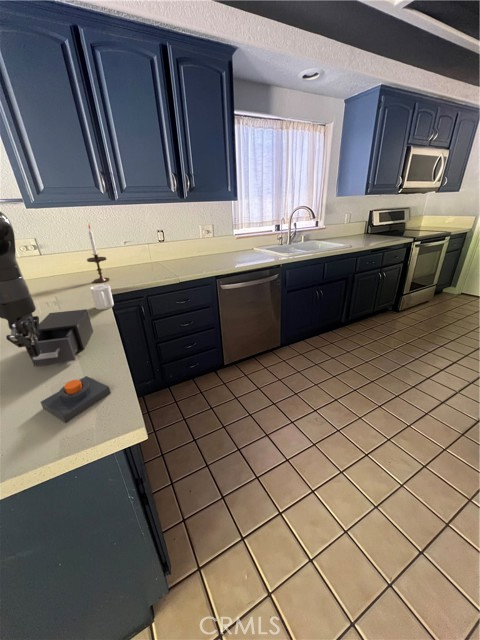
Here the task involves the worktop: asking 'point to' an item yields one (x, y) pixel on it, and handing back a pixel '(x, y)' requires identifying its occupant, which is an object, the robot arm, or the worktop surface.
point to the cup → (102, 296)
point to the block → (75, 399)
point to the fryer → (70, 324)
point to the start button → (73, 386)
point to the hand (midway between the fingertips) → (35, 355)
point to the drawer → (56, 346)
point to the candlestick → (96, 260)
